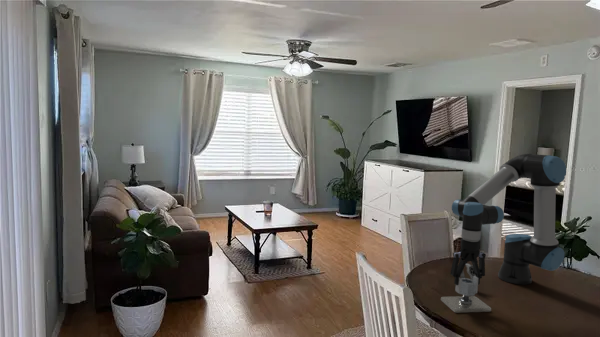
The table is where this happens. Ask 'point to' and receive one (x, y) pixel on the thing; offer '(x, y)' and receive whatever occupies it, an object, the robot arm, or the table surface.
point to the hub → (468, 287)
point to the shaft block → (465, 304)
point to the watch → (469, 271)
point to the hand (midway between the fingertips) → (466, 291)
